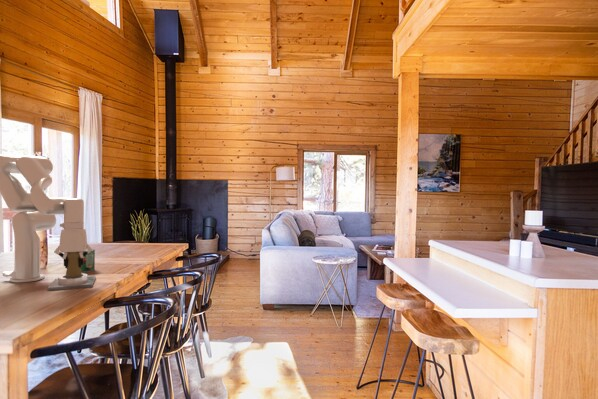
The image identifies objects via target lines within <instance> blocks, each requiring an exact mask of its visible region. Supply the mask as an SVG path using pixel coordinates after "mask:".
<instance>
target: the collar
mask: <svg viewBox="0 0 598 399" xmlns="http://www.w3.org/2000/svg"><path fill="white" fill-rule="evenodd" d="M81 273H82V275H80V276H76V277H66V274H61V275H59V276H58V278H55V279H54V280H53V281H51V283H50V284H49V286H48V287H47V289H46V290H47V291H60V290H62V291H63V290H74V289H76V290H77V289H84V288H85V289H86V288H87V289H88V288H93V286H94V283H95V281H96V275H93V276H89V274H87V273H86V272H81Z"/></svg>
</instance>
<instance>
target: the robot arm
mask: <svg viewBox="0 0 598 399" xmlns="http://www.w3.org/2000/svg"><path fill="white" fill-rule="evenodd" d="M53 168H54V165H53V163H52V160H50V159H49V158H47V157H44V156H37V155H17V154H16V155H13V154H7V153H6V154H3V153H1V154H0V194H1V197H2V199H3V200H4V202H5V205H6V206H7V208H8V209H9V210H10V211H12V212H14V213H15V212H16V214H14V215H13V217H12V219H11V225H12V226H11V227H12V229H13V230H12V231H13V234H14V262H13V263H14V264H13V265H14V270H12V271H3V272H2V277H4V278H5V277H6V278H7V277H10V278H9V282H10V283H16V284H17V283H29V282H31V283H32V282H36V281H41V280H43V279H45V274H41V247H42V246H41V242H42V241H41V239H40V236H39V234H38V233H37V232H38V231H39V232H40V231H41V232H42V231H46V230H51V229H53V228H54V227H56V224H57V218H56V215H63V223H60V224H59V228H63V229H61V230H60V235H59V245H58V246H57V247H56V249H55V250H54V254H56V255H58V256H59V257H60V258H61V259H63V267H64V268H65V269H67V264H68V258H67V253H68V252H79V254H80V258H79V267H81V266H82V265H83V257H84V256H86V255H87V254H88V253H89V252H91V251H92V249H93V248H92V247H91V245H89V244H88V237H87V230H86V228H85V224H84V223H85V220H84V217H85V215H84V214H85V203H84V200H83V198H75V197H73V198H72V197H71V198H70V197H49V196H47V195H46V193H45V192H44V190H45V189H47V188H48V187H50V186H51V184H52V183H53V178H52V177H51V175H50V174H51V173H52V171H53ZM13 174H21V175H22V176H23V177H24V179H25V180H26V181H27V183H28V184H29V185H30V187H31V188H30V190H29V191H27V190H26V189H24V187H23V186H22V183H21V182H20V181H19V180H18V178H17V177H16V176H13ZM86 249H88V250H87V251H86V252H85V253H83V251H85V250H86Z"/></svg>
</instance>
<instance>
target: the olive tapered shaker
mask: <svg viewBox="0 0 598 399" xmlns="http://www.w3.org/2000/svg"><path fill="white" fill-rule="evenodd" d="M79 257H80V254H79V252H68V253H67V258H68V264H67V268H66V271H65V275H66V277H76V276H80V275H82V273H83V272H81V267H79Z"/></svg>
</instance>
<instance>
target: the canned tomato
mask: <svg viewBox="0 0 598 399" xmlns="http://www.w3.org/2000/svg"><path fill="white" fill-rule="evenodd" d="M87 250H88V249H86V250H85V251H83V253H85V252H86V251H87ZM95 250H96V249H95V248H92V251H91V252H89V253H88V254H87V255H86V256H84V257H83V265H82V266H81V273H91V272H94V271H95V265H96V264H95V263H96V261H95V260H96V258H95V256H96V255H95V254H96V253H95V252H96V251H95ZM79 258H80V257H79Z"/></svg>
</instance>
